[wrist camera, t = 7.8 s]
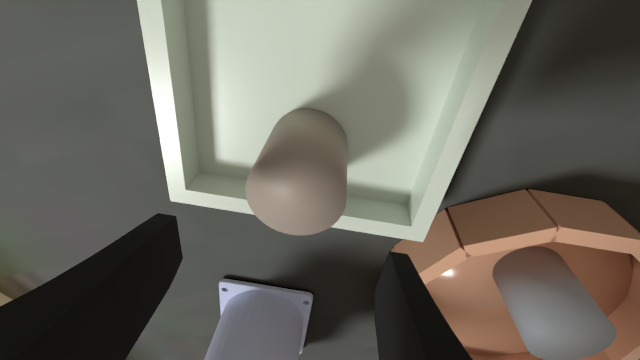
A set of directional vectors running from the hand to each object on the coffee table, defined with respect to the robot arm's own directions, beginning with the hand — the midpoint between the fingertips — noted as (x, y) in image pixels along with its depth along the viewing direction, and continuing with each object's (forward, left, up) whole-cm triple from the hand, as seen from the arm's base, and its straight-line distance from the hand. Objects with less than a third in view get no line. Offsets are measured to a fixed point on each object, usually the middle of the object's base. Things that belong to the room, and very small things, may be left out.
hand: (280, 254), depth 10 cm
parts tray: (+4, 0, -9) cm, 10 cm away
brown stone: (0, 0, -8) cm, 8 cm away
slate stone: (-7, -16, -8) cm, 19 cm away
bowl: (-10, -16, -9) cm, 21 cm away
